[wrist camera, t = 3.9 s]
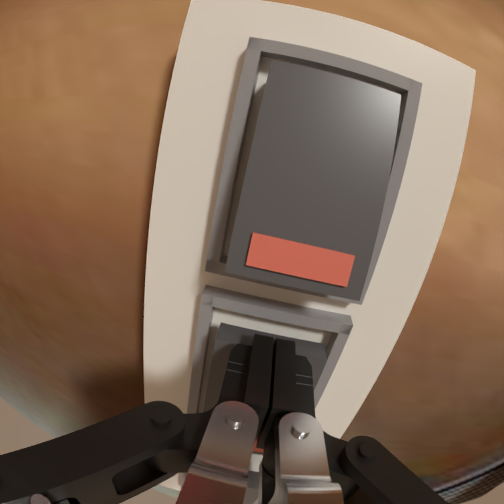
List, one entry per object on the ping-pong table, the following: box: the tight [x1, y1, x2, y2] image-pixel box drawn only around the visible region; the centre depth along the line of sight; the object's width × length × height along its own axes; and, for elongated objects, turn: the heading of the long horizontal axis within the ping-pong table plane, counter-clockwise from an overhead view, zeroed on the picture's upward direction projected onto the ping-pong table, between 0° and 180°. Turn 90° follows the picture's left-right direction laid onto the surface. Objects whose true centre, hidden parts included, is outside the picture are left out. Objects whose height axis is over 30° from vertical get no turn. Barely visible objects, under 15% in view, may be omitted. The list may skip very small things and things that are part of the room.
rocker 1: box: [243, 470, 259, 504], centre depth 17 cm, size 4×7×1 cm, turn 169°
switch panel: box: [143, 0, 476, 504], centre depth 16 cm, size 12×33×4 cm, turn 169°
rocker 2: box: [225, 60, 401, 301], centre depth 10 cm, size 4×7×1 cm, turn 169°
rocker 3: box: [203, 322, 327, 454], centre depth 13 cm, size 4×7×1 cm, turn 169°
